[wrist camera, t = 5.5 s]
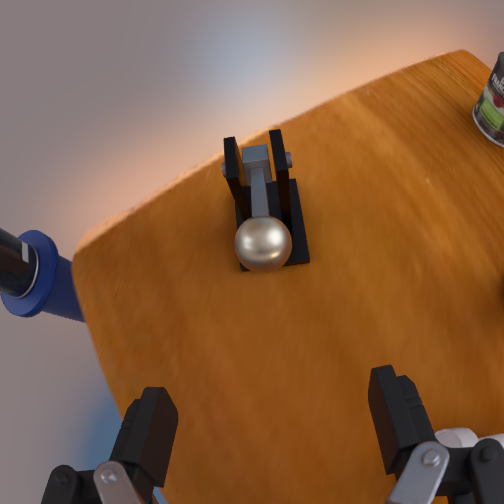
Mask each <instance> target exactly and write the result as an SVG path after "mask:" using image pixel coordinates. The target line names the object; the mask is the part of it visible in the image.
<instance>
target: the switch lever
mask: <svg viewBox="0 0 504 504" xmlns="http://www.w3.org/2000/svg"><path fill="white" fill-rule="evenodd" d="M242 165H243V169H244V174H245V178H246V183H247V186H251V200H252V217H251V218H249V219H248V220H246V221H245V222H244V223H243V224H242V225H241V226H240V227H239V229H238V230H237V232H236V235H235V239H234V249H235V253H236V256H237V258H238V259H239V261H240V262H241V263H242V264H243V265H244V266H245V267H246V268H247V269H249V270H251V271H254V272H257V273H268V272H272V271H275V270H277V269H279V268H280V267H281V266H283V265H284V264H285V262H286V261H287V260H288V258H289V256H290V253H291V249H292V239H291V235H290V232H289V230H288V229H287V227H286V226H285V225H284V224H283V223H282V222H281V221H280V220H278V219H277V218H275V217H272V216H269V208H268V199H267V190H266V183H271V182H272V175H271V168H270V162H269V156H268V150H267V145H266V144H264V145H258V146H251V147H245V148H242Z"/></svg>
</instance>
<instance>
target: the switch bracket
mask: <svg viewBox="0 0 504 504" xmlns="http://www.w3.org/2000/svg"><path fill="white" fill-rule="evenodd" d="M269 134H270V141H271V147H272V154H273V160H274V167H275V174H276V181H272V182H271V183H266V190H267V199H268V208H269V216H272V217H275V218H277V219H278V220H280V221H281V222H282V223H283V224H284V225H285V226H286V227H287V229H288V230H289V232H290V235H291V239H292V249H291V253H290V256H289V258H288V260H287V261H286V262H285V264H284V265H283V266H290V265H297V264H304V263H310V257H309V251H308V245H307V239H306V233H305V227H304V221H303V216H302V210H301V205H300V199H299V194H298V189H297V183H296V179H295V178H294V179H289V171H288V168H292V159H291V154H290V152H285V149H284V144H283V139H282V134H281V130H280V129H277V130H270V131H269ZM224 156H225V162H222V172H223V176H224V178H226V180H227V183H228V185H229V188H230V190H231V192H232V195H233V197H234V200H235V208H236V220H237V230H238V229H239V227H240V226H241V225H242V224H243V223H244V222H245V221H246V220H248V219H249V218H251V217H252V200H251V186H247V183H246V178H245V174H244V169H243V165H242V160H241V156H240V153H239V150H238V146H237V143H236V140H235V137H228V138H224ZM240 267H241V270H242V272H245V271H251V270H249V269H247V268H246V267H245V266H244V265H243V264H242V263H241V262H240ZM281 267H282V266H281Z"/></svg>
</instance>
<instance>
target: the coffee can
mask: <svg viewBox="0 0 504 504" xmlns="http://www.w3.org/2000/svg"><path fill="white" fill-rule="evenodd" d="M472 115H473V119H474V121H475V123H476V125H477V127H478V128H479V130H480V131H481V132H482V133H483V134H484V135H485V136H486V137H487V138H488V139H489V140H490V141H492V142H493V143H495V144H496V145H498V146H501V147H504V52H501V53H499V56H498V60H497V62H496V64H495V67H494V69H493V71H492V73H491V75H490V77H489V80H488V82H487V84H486V86H485V88H484V90H483V92H482V94H481V96H480V98H479V100H478V102H477V103H476V105H475V107H474V108H473V111H472Z"/></svg>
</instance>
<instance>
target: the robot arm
mask: <svg viewBox="0 0 504 504" xmlns="http://www.w3.org/2000/svg"><path fill="white" fill-rule="evenodd" d="M39 270H40V257H39V253H38V251H37V249H36V248H35V247H34V246H32V245H31V244H28V243H26V242H24V241H22V240H20V239H19V238H17V237H15V236H13V235H11V234H10V233H8V232H6V231H4V230H3V229H1V228H0V292H1V293H4V294H7V295H9V296H11V297H13V298H16V299H22V298H24V297H26V296H27V295H28V294H29V293H30V292H31V291H32V289H33V288H34V286H35V284H36V282H37V279H38V275H39ZM368 402H369V407H370V411H371V415H372V418H373V422H374V426H375V430H376V434H377V438H378V442H379V446H380V450H381V454H382V458H383V462H384V467H385V471H386V475H389V474H393V473H394V474H395V478H396V483H395V484H394V486H393V488H392V490H391V492H390V493H389V495H388V497H387V499H386V500H385V502H384V504H431V502H432V500H433V498H434V496H447V498H448V503H449V504H504V448H503V446H502V445H501V443H500V442H499V441H497V440H495V439H492V438H485V439H482V440H480V441H478V442H477V443H476V444H475V445H474V447H462V448H451V447H447V446H445V445H443V444H441V443H440V442H439V441H438V440H437V438H436V436H435V434H434V432H433V429H432V426H431V424H430V421H429V418H428V416H427V413H426V411H425V408H424V406H423V405H422V401H421V398H420V396H419V394H418V391H417V389H416V386H415V384H414V383H413V382H412V381H411V380H410V379H409V378H408V377H407V376H406V375H403V376H398V377H396V374H395V372H394V369H393V367H392V365H385V366H381V367H376V368H372V369H371V375H370V382H369V389H368ZM177 425H178V411H177V409H176V407H175V405H174V403H173V401H172V400H171V398H170V396H169V394H168V392H167V390H166V389H165V388H164V387H146V388H145V389H144V391H143V393H142V396H141V399H135V400H134V401H133V403H132V404H131V405H130V406H129V407H128V409H127V411H126V414H125V417H124V420H123V422H122V425H121V429H120V431H119V434H118V436H117V439H116V442H115V445H114V448H113V451H112V453H111V456H110V459H109V460H108V461H106V462H103V463H102V464H100V465H99V466H98V467H97V468H96V469H95V470H87V471H75V470H74V469H73V468H72V467H70V466H68V465H60V466H58V467H56V468H55V469H54V470H53V471H52V472H51V474H50V477H49V480H48V483H47V486H46V489H45V492H44V495H43V499H42V502H41V504H159V503H158V502H157V499H156V498H155V496H154V494H153V489H154V486H155V487H162V488H164V483H165V478H166V474H167V469H168V464H169V460H170V455H171V451H172V446H173V442H174V438H175V433H176V429H177Z"/></svg>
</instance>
